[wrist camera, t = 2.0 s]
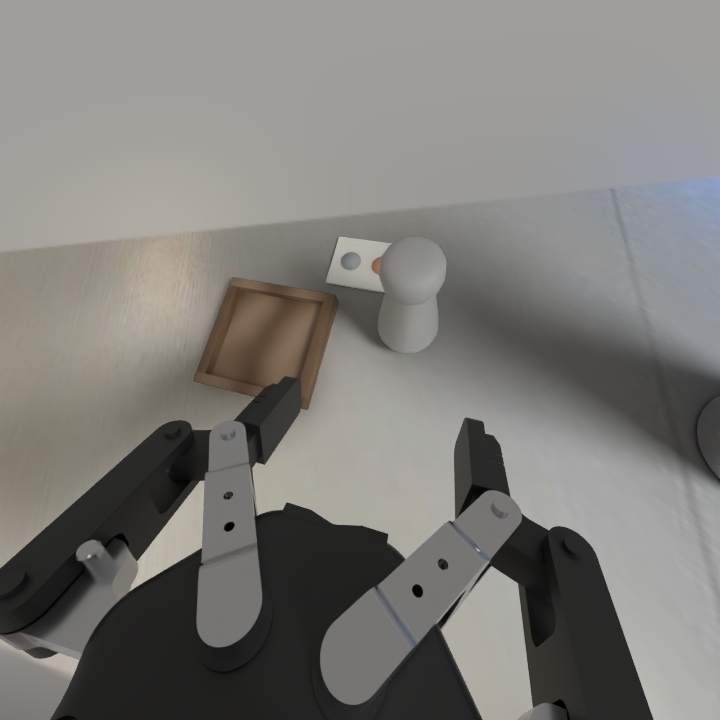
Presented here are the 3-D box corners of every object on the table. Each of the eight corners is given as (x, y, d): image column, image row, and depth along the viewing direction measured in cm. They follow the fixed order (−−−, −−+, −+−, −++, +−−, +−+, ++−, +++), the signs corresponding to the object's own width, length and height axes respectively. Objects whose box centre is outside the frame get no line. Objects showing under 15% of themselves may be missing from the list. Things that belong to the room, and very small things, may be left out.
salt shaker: (382, 304, 31) (372, 216, 19) (437, 309, 30) (464, 218, 18) (375, 357, 30) (360, 298, 17) (432, 363, 29) (459, 305, 17)
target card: (407, 247, 33) (407, 244, 32) (396, 295, 31) (396, 292, 31) (339, 238, 34) (338, 235, 34) (326, 283, 33) (325, 281, 32)
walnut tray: (338, 302, 32) (335, 294, 30) (307, 409, 29) (302, 408, 28) (241, 285, 34) (232, 277, 32) (204, 383, 31) (192, 380, 30)
